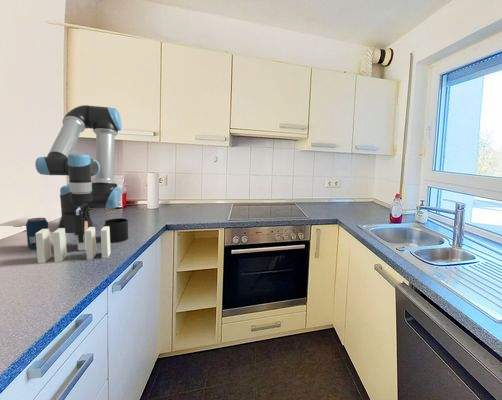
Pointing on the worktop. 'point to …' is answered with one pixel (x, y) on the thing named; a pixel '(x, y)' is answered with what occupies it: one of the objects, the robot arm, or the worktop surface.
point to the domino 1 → (43, 245)
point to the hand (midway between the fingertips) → (84, 246)
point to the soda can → (34, 230)
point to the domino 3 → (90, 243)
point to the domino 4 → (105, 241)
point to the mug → (117, 229)
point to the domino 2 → (59, 244)
